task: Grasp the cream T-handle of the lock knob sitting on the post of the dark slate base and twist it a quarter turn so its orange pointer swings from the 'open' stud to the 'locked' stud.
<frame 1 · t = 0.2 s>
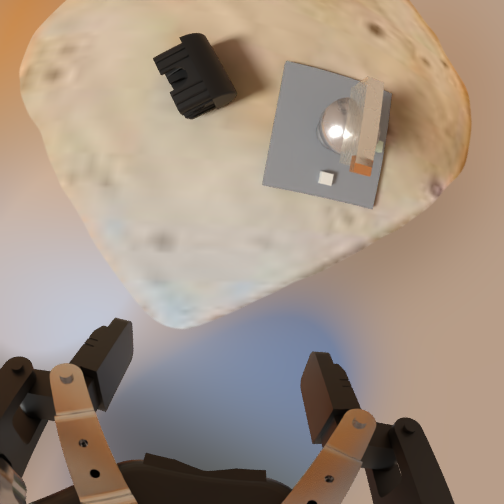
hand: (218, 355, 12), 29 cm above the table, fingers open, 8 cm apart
lock knob: (356, 128, 26), point 10 cm above the table, hinge at 0.0°
end cap: (200, 83, 33), on the table
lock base: (330, 134, 35), on the table
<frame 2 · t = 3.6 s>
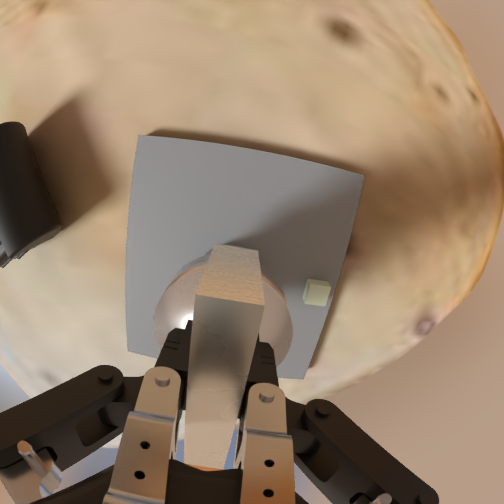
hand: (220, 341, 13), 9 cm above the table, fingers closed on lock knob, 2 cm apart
lock knob: (218, 358, 12), point 10 cm above the table, hinge at 0.0°, touching gripper
end cap: (35, 189, 19), on the table
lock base: (230, 270, 21), on the table
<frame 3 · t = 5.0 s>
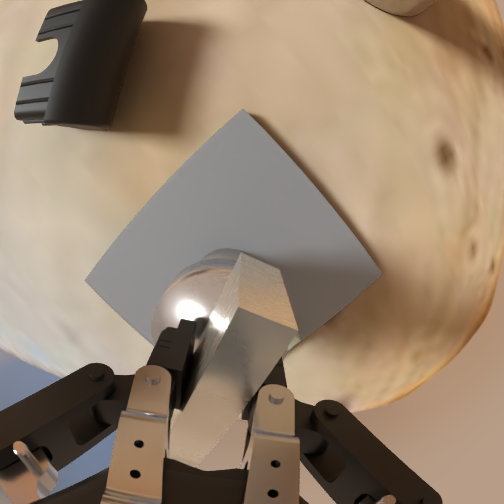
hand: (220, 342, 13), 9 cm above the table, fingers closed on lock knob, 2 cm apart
lock knob: (213, 362, 12), point 10 cm above the table, hinge at 21.7°, touching gripper
end cap: (105, 73, 17), on the table
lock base: (228, 274, 22), on the table
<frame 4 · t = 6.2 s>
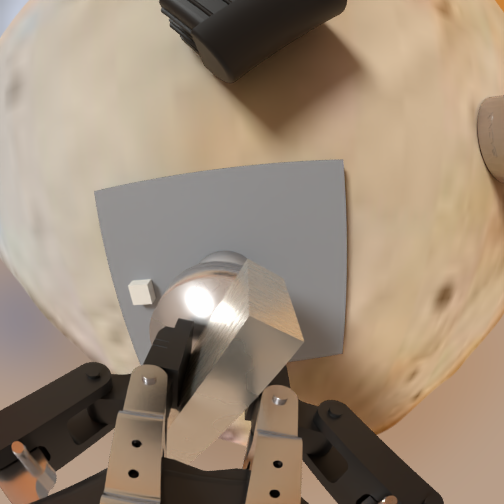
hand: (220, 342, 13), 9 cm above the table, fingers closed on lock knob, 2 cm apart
lock knob: (210, 364, 12), point 10 cm above the table, hinge at 53.5°, touching gripper
end cap: (253, 30, 16), on the table
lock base: (226, 276, 22), on the table
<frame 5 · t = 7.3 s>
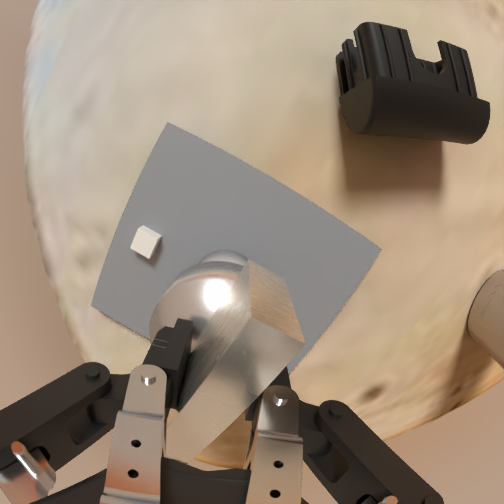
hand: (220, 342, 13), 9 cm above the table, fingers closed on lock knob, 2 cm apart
lock knob: (209, 364, 12), point 10 cm above the table, hinge at 88.5°, touching gripper
end cap: (391, 99, 18), on the table
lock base: (226, 275, 22), on the table
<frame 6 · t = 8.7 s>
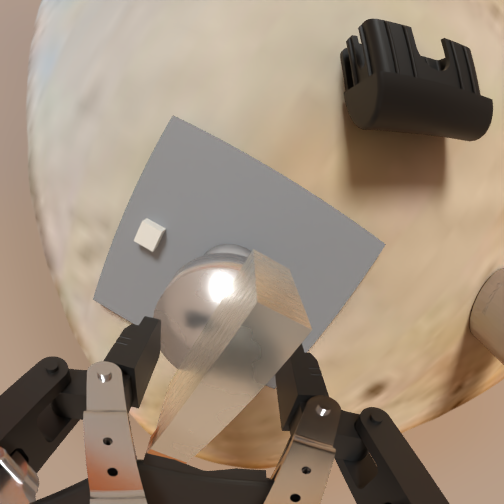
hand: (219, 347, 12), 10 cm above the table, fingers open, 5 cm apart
lock knob: (214, 356, 12), point 10 cm above the table, hinge at 89.6°
end cap: (394, 95, 18), on the table
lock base: (230, 269, 22), on the table
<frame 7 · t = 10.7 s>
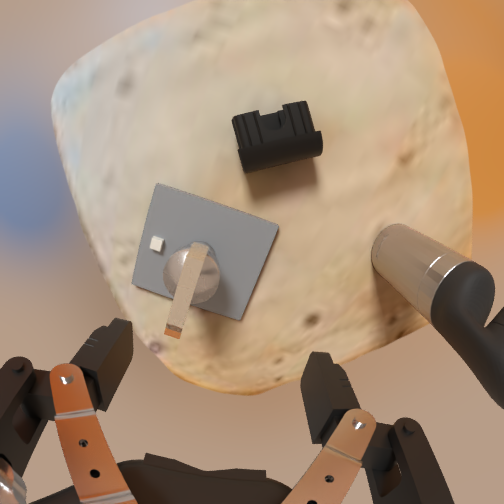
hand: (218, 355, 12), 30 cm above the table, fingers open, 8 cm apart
lock knob: (187, 286, 32), point 10 cm above the table, hinge at 89.7°
end cap: (272, 139, 37), on the table
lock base: (200, 254, 41), on the table
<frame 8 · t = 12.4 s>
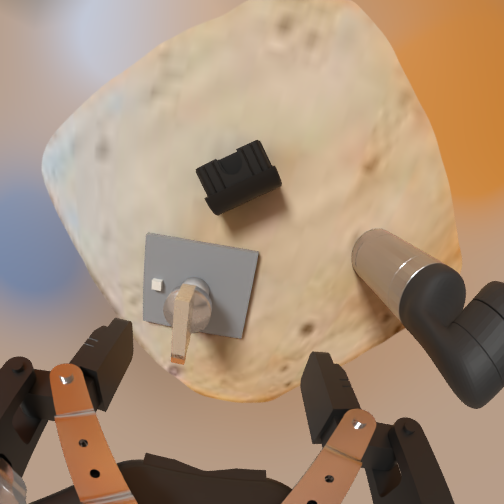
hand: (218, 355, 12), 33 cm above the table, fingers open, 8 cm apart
lock knob: (184, 320, 37), point 10 cm above the table, hinge at 89.7°
end cap: (239, 176, 42), on the table
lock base: (196, 287, 47), on the table
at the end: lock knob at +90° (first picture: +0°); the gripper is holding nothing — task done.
